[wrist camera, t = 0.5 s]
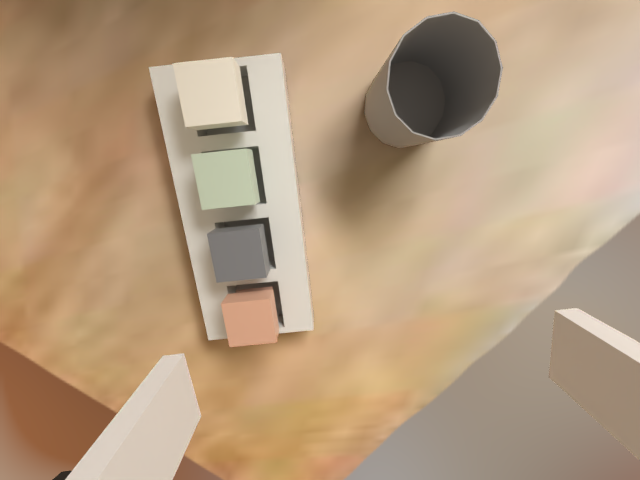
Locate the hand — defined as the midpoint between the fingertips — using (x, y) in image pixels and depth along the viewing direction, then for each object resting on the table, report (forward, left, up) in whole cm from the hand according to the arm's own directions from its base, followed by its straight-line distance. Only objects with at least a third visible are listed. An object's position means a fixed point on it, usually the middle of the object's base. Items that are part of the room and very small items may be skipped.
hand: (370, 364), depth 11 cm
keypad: (-3, -9, -24) cm, 26 cm away
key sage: (-7, -9, -21) cm, 24 cm away
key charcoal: (0, -9, -21) cm, 23 cm away
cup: (-12, +9, -24) cm, 29 cm away
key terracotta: (+7, -9, -21) cm, 24 cm away
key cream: (-14, -9, -21) cm, 27 cm away
